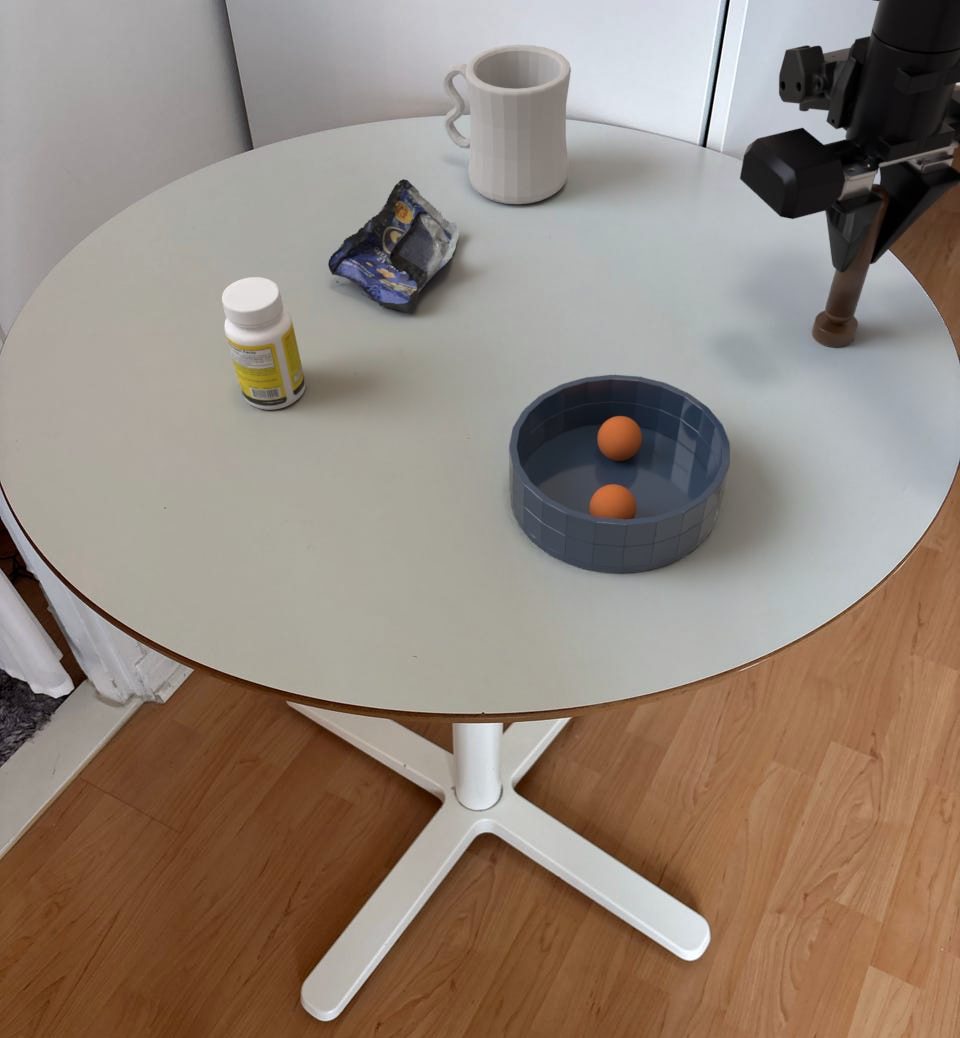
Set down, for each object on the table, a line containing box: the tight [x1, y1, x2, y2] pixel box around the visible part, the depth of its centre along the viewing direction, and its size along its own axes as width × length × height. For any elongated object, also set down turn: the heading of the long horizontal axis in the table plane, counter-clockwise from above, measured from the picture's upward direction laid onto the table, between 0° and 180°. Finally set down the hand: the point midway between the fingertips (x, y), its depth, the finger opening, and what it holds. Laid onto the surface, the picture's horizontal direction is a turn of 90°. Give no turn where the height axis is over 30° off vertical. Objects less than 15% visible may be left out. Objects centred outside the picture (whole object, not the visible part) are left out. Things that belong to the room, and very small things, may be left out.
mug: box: [441, 44, 572, 205], centre depth 90 cm, size 12×9×10 cm
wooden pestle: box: [811, 183, 889, 348], centre depth 74 cm, size 3×3×12 cm
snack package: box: [327, 178, 460, 314], centre depth 84 cm, size 12×6×12 cm
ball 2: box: [589, 484, 636, 519], centre depth 65 cm, size 3×3×3 cm
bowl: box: [508, 374, 731, 574], centre depth 67 cm, size 14×14×4 cm
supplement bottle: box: [221, 276, 306, 411], centre depth 73 cm, size 5×5×8 cm
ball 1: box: [597, 416, 642, 461], centre depth 69 cm, size 3×3×3 cm
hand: (853, 264), depth 74 cm, fingers closed on wooden pestle, 2 cm apart
